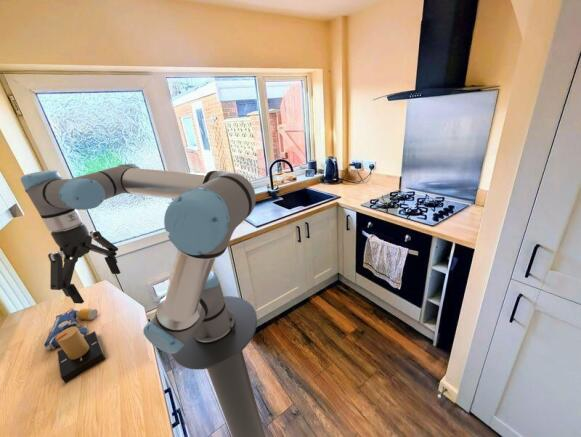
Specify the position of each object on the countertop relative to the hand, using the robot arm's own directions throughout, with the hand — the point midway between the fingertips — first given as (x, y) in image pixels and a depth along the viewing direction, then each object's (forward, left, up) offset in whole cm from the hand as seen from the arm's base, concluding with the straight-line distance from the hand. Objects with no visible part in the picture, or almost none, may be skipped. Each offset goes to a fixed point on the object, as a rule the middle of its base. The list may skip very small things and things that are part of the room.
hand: (99, 286), depth 77 cm
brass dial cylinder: (+8, +13, -24) cm, 28 cm away
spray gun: (+28, +13, -27) cm, 41 cm away
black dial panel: (+8, +13, -27) cm, 31 cm away
